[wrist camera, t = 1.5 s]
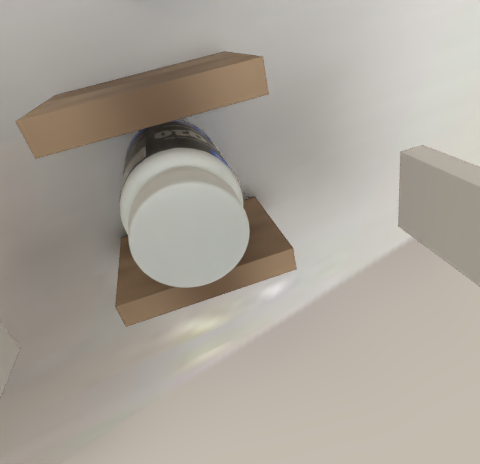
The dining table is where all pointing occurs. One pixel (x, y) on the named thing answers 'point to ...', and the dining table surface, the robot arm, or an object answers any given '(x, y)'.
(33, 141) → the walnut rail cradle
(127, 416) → the dining table surface
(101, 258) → the dining table surface
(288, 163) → the dining table surface
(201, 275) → the pill bottle
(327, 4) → the dining table surface
